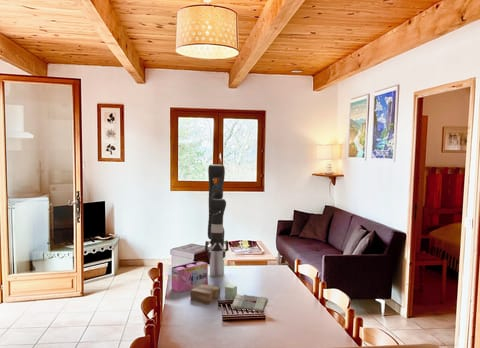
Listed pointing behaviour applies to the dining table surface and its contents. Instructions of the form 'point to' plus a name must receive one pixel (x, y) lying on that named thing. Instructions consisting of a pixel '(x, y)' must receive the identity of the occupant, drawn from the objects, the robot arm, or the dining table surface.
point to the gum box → (189, 276)
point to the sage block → (230, 291)
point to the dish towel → (242, 304)
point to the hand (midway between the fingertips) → (216, 258)
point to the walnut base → (205, 294)
